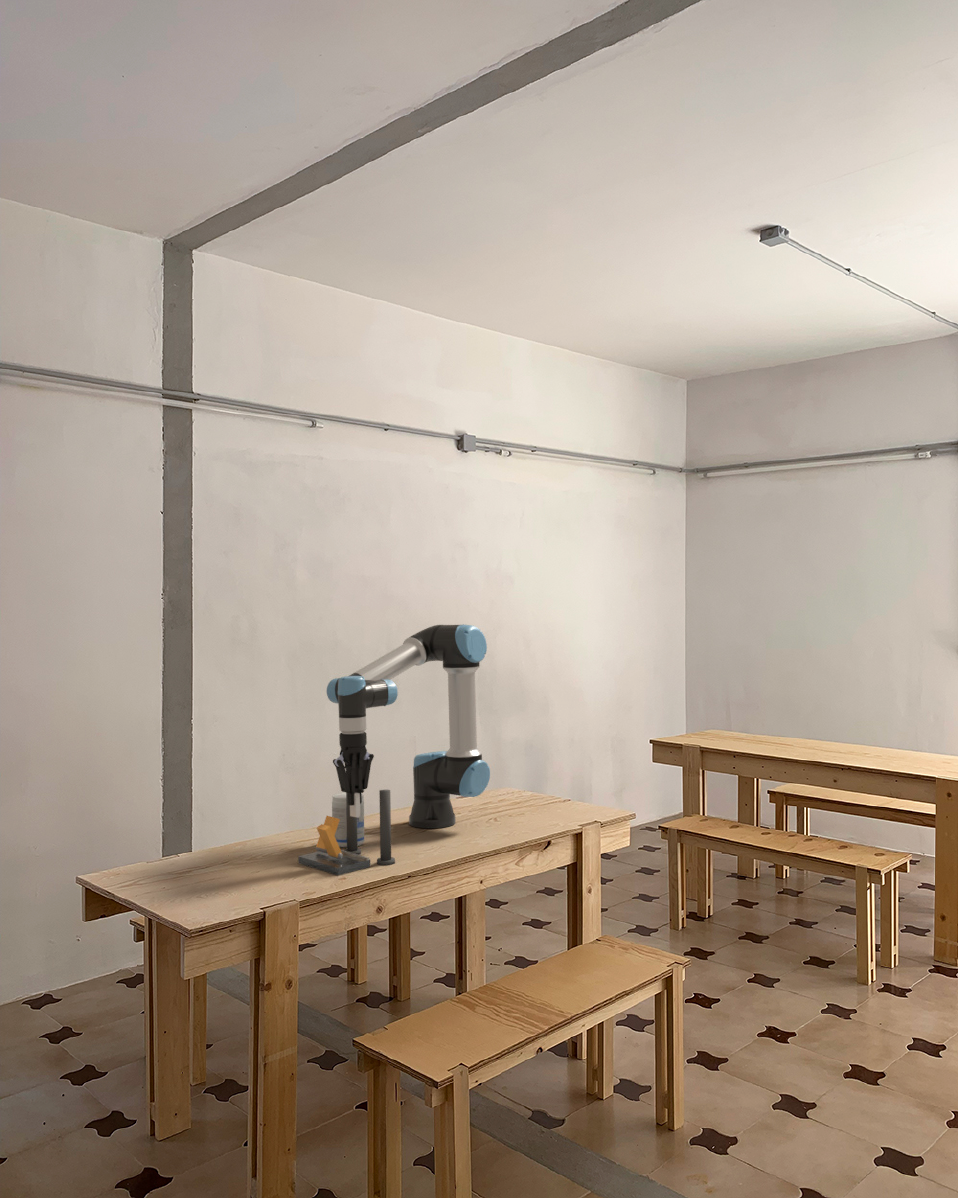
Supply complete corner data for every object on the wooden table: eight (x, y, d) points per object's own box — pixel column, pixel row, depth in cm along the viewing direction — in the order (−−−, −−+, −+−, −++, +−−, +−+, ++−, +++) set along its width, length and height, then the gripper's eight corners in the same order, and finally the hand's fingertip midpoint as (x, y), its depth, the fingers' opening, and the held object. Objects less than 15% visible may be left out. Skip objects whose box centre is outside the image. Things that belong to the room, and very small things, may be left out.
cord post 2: (387, 859, 272) (386, 788, 272) (398, 862, 268) (397, 790, 268) (373, 863, 268) (372, 790, 268) (384, 866, 265) (383, 793, 265)
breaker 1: (334, 853, 267) (320, 824, 264) (343, 856, 264) (330, 826, 261) (329, 857, 266) (316, 827, 263) (339, 860, 263) (325, 830, 260)
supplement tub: (351, 850, 283) (350, 799, 283) (325, 846, 288) (325, 796, 288) (371, 842, 291) (370, 793, 292) (345, 839, 296) (345, 791, 296)
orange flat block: (319, 851, 273) (330, 817, 276) (328, 854, 270) (340, 819, 273) (314, 850, 272) (326, 815, 275) (324, 852, 269) (335, 817, 272)
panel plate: (330, 855, 277) (330, 846, 277) (370, 867, 264) (370, 857, 264) (298, 863, 269) (298, 854, 269) (338, 875, 256) (337, 865, 256)
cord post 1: (353, 850, 282) (352, 781, 282) (364, 853, 279) (363, 783, 279) (340, 853, 279) (338, 784, 279) (350, 856, 275) (349, 786, 275)
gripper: (362, 728, 277) (365, 810, 277) (325, 733, 268) (328, 818, 268) (379, 730, 272) (381, 813, 272) (342, 736, 263) (344, 822, 263)
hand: (355, 816), depth 270 cm, fingers closed
